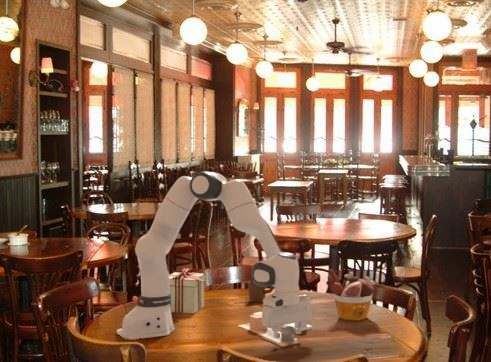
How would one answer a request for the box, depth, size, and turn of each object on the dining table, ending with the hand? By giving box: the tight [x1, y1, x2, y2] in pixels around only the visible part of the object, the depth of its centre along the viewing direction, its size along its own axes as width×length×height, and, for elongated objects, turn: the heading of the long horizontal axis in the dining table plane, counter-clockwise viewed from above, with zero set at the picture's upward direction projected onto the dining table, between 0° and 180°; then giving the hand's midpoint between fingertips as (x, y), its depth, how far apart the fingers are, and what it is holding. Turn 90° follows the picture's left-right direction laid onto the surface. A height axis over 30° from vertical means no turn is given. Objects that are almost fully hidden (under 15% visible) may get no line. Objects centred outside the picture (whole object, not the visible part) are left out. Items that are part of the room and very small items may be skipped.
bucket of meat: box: [327, 268, 376, 322], centre depth 277 cm, size 20×16×20 cm
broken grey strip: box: [252, 311, 313, 333], centre depth 271 cm, size 8×30×6 cm, turn 33°
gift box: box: [169, 268, 206, 314], centre depth 297 cm, size 17×18×17 cm
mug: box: [248, 279, 275, 304], centre depth 308 cm, size 12×8×9 cm, turn 66°
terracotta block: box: [249, 314, 268, 331], centre depth 258 cm, size 5×5×5 cm
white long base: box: [237, 322, 301, 347], centre depth 253 cm, size 8×30×6 cm, turn 33°
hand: (287, 335), depth 242 cm, fingers open, 8 cm apart
